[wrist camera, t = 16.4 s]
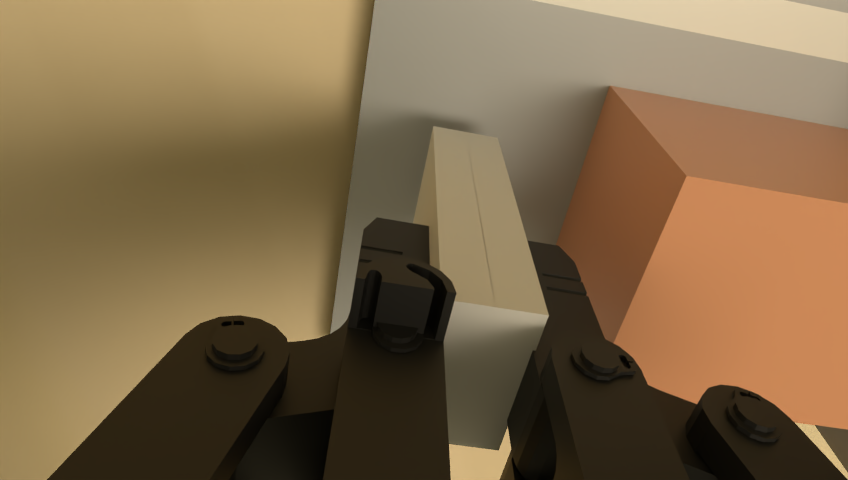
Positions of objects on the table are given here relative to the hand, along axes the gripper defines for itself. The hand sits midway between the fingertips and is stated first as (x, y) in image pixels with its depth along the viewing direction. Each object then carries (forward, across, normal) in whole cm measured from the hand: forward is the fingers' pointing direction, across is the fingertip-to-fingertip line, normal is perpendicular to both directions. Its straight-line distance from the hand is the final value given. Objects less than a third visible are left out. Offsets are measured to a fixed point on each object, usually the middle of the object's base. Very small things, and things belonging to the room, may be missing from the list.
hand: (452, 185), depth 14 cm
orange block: (+1, +7, 0) cm, 7 cm away
